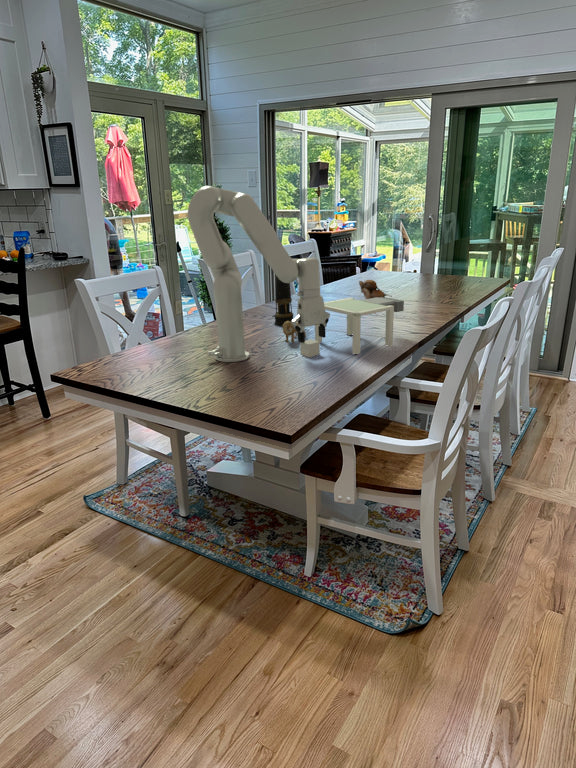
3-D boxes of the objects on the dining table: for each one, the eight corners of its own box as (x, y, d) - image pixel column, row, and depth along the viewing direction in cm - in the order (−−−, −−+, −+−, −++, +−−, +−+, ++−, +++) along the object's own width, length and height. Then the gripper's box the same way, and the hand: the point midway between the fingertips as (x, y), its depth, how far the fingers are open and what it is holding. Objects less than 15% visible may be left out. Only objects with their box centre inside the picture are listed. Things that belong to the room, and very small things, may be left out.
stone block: (309, 357, 197) (308, 344, 195) (300, 354, 201) (300, 341, 199) (319, 354, 200) (319, 341, 198) (311, 352, 203) (311, 339, 202)
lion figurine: (291, 345, 213) (291, 322, 210) (280, 343, 216) (279, 321, 213) (308, 336, 225) (307, 315, 222) (297, 335, 228) (296, 314, 225)
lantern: (271, 325, 246) (268, 258, 236) (280, 320, 254) (278, 255, 244) (288, 326, 242) (286, 258, 232) (297, 322, 250) (296, 256, 240)
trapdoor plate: (356, 323, 197) (357, 311, 195) (323, 315, 212) (322, 304, 210) (410, 312, 212) (411, 300, 211) (375, 305, 227) (375, 294, 226)
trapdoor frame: (356, 355, 197) (356, 313, 192) (315, 342, 216) (314, 304, 211) (392, 345, 208) (393, 306, 203) (350, 334, 226) (350, 297, 221)
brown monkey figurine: (365, 284, 304) (352, 279, 292) (391, 279, 295) (379, 274, 283) (366, 307, 304) (353, 303, 292) (392, 303, 294) (379, 299, 282)
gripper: (296, 298, 185) (299, 346, 191) (335, 290, 194) (336, 336, 200) (284, 295, 191) (287, 342, 197) (321, 288, 200) (323, 333, 206)
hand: (312, 339), depth 198 cm, fingers open, 9 cm apart
